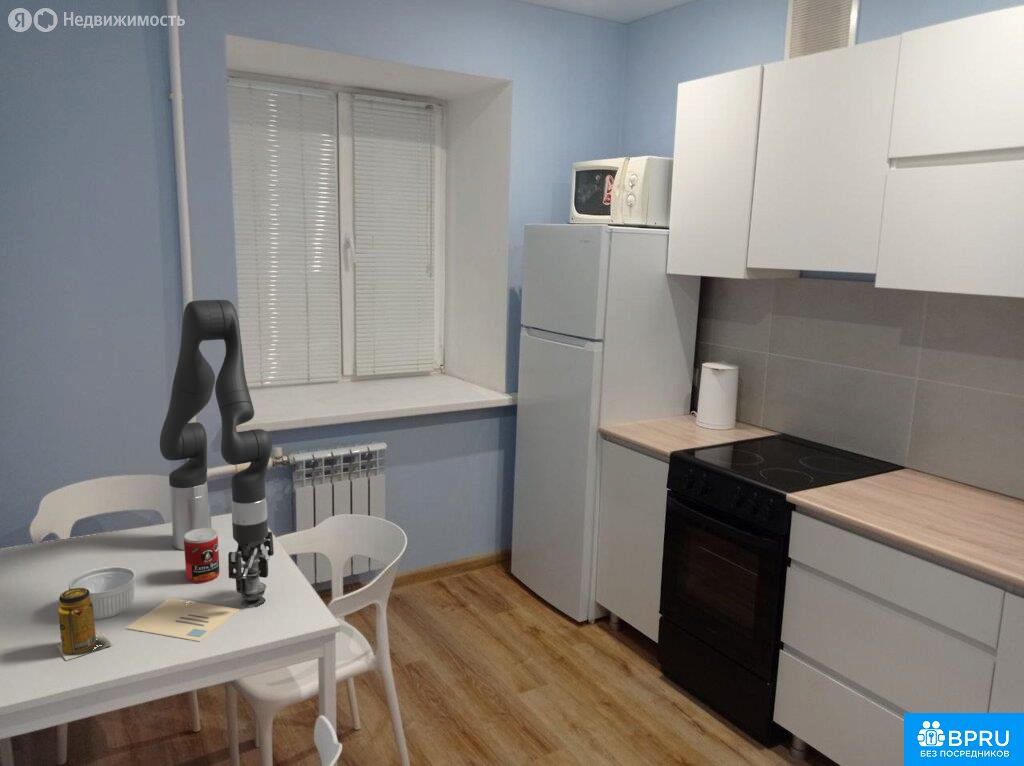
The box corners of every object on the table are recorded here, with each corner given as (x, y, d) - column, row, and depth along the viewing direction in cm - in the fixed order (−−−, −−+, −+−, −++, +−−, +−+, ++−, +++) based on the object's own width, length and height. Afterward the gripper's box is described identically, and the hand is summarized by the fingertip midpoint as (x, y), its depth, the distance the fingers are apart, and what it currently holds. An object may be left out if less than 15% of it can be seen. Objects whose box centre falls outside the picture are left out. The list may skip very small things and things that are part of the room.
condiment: (56, 646, 153) (50, 591, 150) (102, 632, 158) (97, 579, 156) (65, 661, 147) (60, 605, 145) (112, 646, 153) (108, 591, 151)
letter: (170, 598, 173) (170, 597, 173) (239, 609, 169) (239, 608, 169) (125, 628, 160) (125, 627, 160) (199, 641, 156) (199, 640, 156)
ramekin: (146, 609, 168) (144, 580, 167) (80, 629, 159) (78, 599, 158) (127, 588, 178) (124, 561, 176) (64, 606, 169) (61, 577, 167)
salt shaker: (258, 609, 169) (256, 560, 167) (234, 606, 170) (232, 557, 168) (271, 597, 175) (269, 549, 172) (248, 594, 176) (246, 546, 174)
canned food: (192, 586, 179) (190, 543, 177) (181, 574, 185) (178, 532, 183) (224, 577, 184) (222, 535, 182) (212, 566, 190) (210, 525, 188)
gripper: (246, 531, 161) (249, 601, 164) (281, 508, 174) (284, 573, 178) (215, 527, 163) (219, 596, 166) (253, 504, 176) (255, 569, 179)
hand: (252, 584), depth 172 cm, fingers open, 8 cm apart
